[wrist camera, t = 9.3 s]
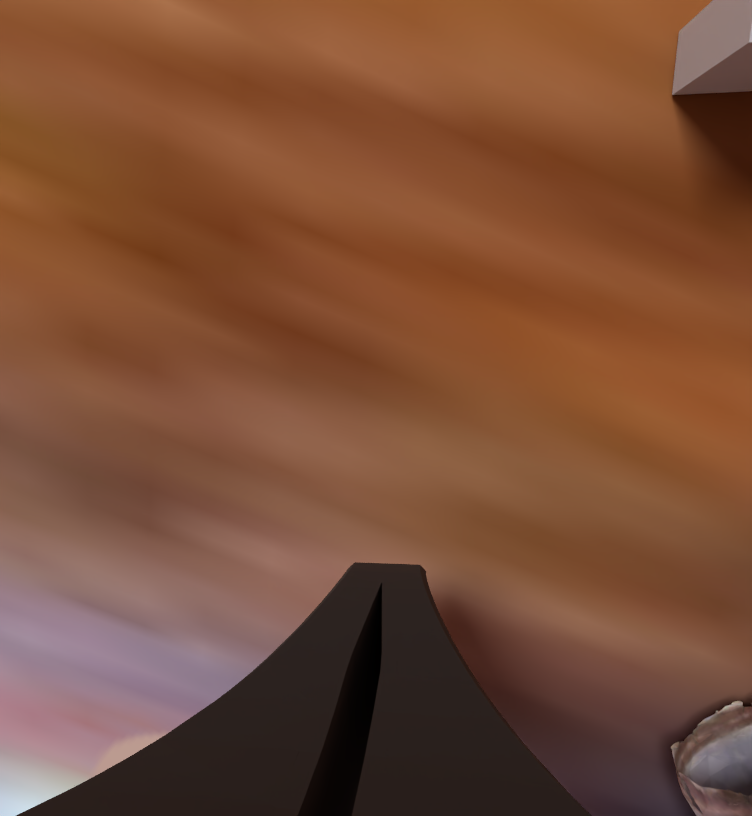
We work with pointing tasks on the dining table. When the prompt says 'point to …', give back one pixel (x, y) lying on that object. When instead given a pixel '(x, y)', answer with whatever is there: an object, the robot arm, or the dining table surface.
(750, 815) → the flask
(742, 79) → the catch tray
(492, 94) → the dining table surface
